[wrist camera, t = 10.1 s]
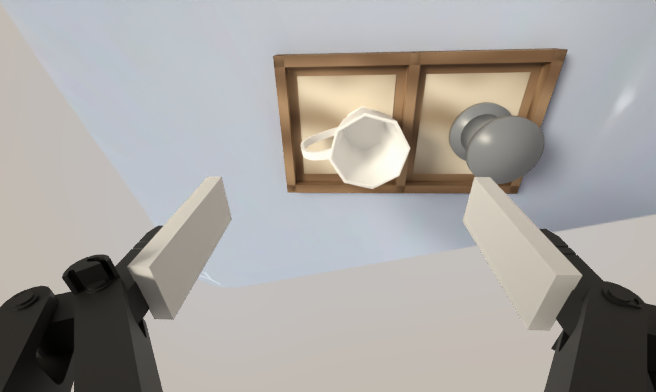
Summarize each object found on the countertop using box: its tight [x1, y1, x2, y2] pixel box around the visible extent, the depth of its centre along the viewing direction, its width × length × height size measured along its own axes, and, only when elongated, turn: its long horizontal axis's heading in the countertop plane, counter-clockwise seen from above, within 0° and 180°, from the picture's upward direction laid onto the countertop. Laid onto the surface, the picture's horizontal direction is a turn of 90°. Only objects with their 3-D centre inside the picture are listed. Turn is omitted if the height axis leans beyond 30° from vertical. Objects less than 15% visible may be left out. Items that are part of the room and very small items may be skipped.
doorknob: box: [449, 102, 544, 184], centre depth 29 cm, size 6×6×6 cm
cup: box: [301, 106, 410, 189], centre depth 28 cm, size 7×10×8 cm
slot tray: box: [273, 48, 567, 194], centre depth 31 cm, size 15×27×2 cm, turn 91°
